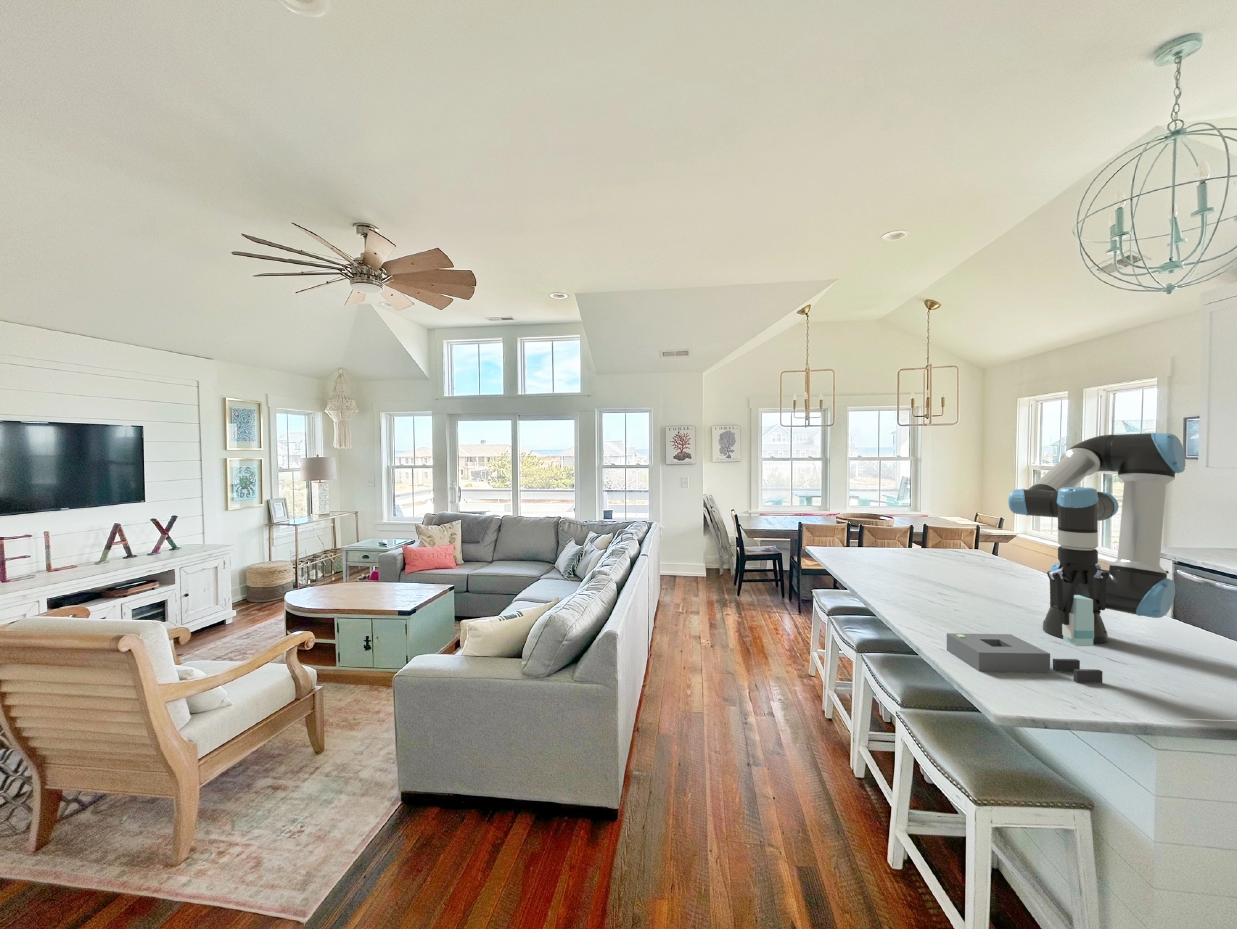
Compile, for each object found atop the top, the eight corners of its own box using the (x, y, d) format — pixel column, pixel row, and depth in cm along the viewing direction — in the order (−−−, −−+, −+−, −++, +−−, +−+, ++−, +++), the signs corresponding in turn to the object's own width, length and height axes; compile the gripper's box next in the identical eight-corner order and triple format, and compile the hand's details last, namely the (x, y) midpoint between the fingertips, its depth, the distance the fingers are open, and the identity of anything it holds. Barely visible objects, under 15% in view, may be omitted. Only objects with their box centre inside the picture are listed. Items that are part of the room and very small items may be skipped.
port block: (1010, 651, 142) (1010, 633, 142) (1050, 672, 128) (1050, 652, 128) (946, 650, 143) (946, 632, 143) (978, 671, 129) (978, 651, 129)
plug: (1079, 640, 128) (1079, 594, 127) (1093, 646, 123) (1093, 599, 123) (1062, 640, 128) (1062, 595, 128) (1076, 646, 124) (1076, 599, 123)
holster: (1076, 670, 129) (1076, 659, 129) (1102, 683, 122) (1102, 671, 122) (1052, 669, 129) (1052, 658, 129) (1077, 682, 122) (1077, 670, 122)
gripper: (1099, 543, 128) (1099, 631, 129) (1031, 545, 129) (1031, 631, 130) (1127, 549, 121) (1127, 642, 121) (1054, 550, 122) (1055, 642, 122)
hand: (1077, 636), depth 126 cm, fingers closed on plug, 4 cm apart
